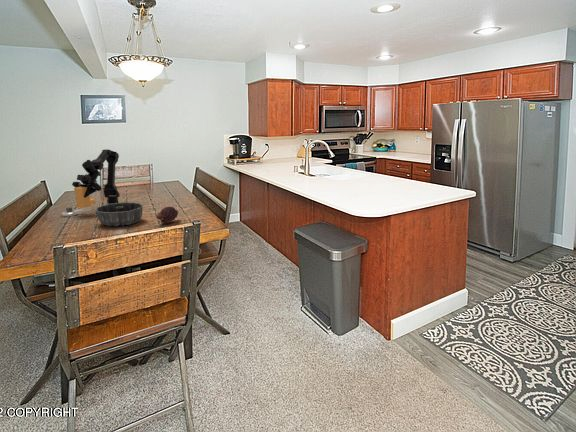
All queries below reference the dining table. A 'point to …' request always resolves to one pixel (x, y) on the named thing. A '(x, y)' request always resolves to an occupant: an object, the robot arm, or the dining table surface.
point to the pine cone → (167, 215)
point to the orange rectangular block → (81, 197)
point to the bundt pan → (119, 213)
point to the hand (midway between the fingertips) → (80, 197)
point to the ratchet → (75, 211)
